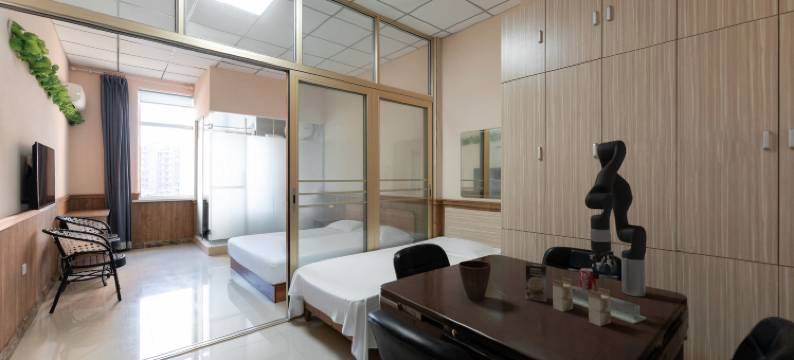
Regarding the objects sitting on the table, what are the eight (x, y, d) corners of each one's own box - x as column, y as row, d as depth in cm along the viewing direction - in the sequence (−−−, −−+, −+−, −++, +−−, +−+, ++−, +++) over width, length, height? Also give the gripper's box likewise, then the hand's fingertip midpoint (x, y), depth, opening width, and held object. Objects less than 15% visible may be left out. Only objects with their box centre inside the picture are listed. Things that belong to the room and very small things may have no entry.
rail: (574, 296, 156) (574, 285, 156) (639, 317, 131) (639, 305, 131) (568, 297, 154) (568, 287, 154) (634, 319, 129) (633, 307, 129)
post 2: (599, 318, 133) (599, 287, 133) (610, 322, 129) (610, 290, 129) (588, 321, 130) (588, 290, 130) (600, 326, 126) (599, 293, 126)
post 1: (563, 305, 147) (563, 277, 147) (572, 308, 143) (572, 279, 143) (553, 308, 144) (552, 279, 144) (562, 311, 140) (561, 282, 140)
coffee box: (525, 299, 155) (524, 265, 155) (526, 295, 161) (525, 262, 161) (546, 302, 151) (546, 267, 151) (547, 297, 157) (546, 263, 157)
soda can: (598, 297, 156) (597, 271, 156) (582, 296, 158) (581, 271, 158) (592, 292, 163) (592, 267, 163) (577, 291, 165) (576, 267, 165)
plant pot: (456, 300, 154) (455, 266, 154) (462, 290, 168) (462, 259, 168) (489, 304, 149) (488, 269, 149) (492, 294, 162) (492, 261, 163)
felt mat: (575, 296, 158) (575, 295, 158) (646, 319, 131) (646, 317, 131) (563, 299, 154) (563, 298, 154) (633, 323, 127) (633, 322, 127)
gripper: (601, 236, 149) (603, 272, 149) (581, 240, 142) (583, 277, 142) (619, 238, 142) (620, 276, 142) (599, 242, 136) (600, 282, 136)
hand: (602, 277), depth 142 cm, fingers open, 8 cm apart
